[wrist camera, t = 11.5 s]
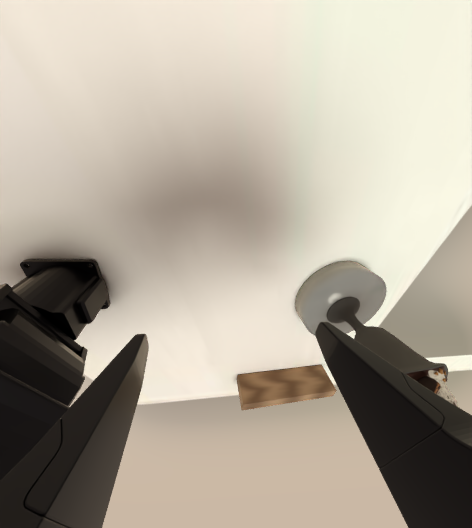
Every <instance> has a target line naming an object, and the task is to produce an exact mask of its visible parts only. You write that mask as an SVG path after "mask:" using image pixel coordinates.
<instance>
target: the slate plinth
mask: <svg viewBox="0 0 472 528" xmlns="http://www.w3.org/2000/svg"><path fill="white" fill-rule="evenodd" d="M385 296H386V285H385V282H384V281H383V279H382V278H381V277H379V276H378V275H376V274H375V273H373V272H372V271H370V270H369V269H367V268H366V267H364V266H363V265H361V264H359V263H357V262H353V261H342V262H336V263H333V264H330V265H328V266H325V267H324V268H322V269H320V270H318V271H317V272H315V273H314V274H313V275H312V276H310V277H309V278H308V279H307V280H306V282H305V283H304V284H303V285H302V287H301V288H300V290H299V292H298V294H297V296H296V301H295V308H296V311H297V313H298V315H299V317H300V318H301V320H302V321H303V323H304V325H305V326H306V328H307V329H308V331H309V332H310V333H312V334H313V335H315V331H316V329H317V327H318V325H319V323H320V322H325V321H326V322H329V321H328V320H327V312H328V310H329V308H330V307H331V306H332V305H333V304H334V303H335V302H337V301H338V300H340V299H343V298H346V297H355V298H357V299H358V300H359V301H360V308H359V310H358V312H357V313H356V314H355V316H356V318H357V319H358V320H359V321H360V322H361V323H362V324H365V323H366V322H367V321H368V320H369V319H371V318H372V317H373V316H374V315H375V314H376V312H377V311H378V310H379V309H380V307H381V305H382V304H383V302H384V299H385ZM329 323H331V322H329ZM331 324H332V325H334V326H335V327H337V328H338V329H339V330H341V331H342V332H344V333H345V334H346V333H349V332H351V331H353V330H354V329H353V328H352V327H351V325H349V324H348V323H347V322H346V321H345V322H342V323H331Z"/></svg>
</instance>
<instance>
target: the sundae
mask: <svg viewBox="0 0 472 528" xmlns="http://www.w3.org/2000/svg"><path fill="white" fill-rule="evenodd" d="M359 308H360V301H359V300H358V299H357V298H355V297H346V298H343V299H340V300H338V301H337V302H335V303H334V304H333V305H332V306H331V307H330V308H329V310H328V312H327V320H328V321H329V322H331V323H342V322H345V321H346V322H347V323H348V324H349V325H351V327H352V328H353V329H354V330H355V331H356V335H355V338H354V340H356V341H357V342H359V343H360V344H362V345H363V346H365V347H366V348H368V349H369V350H371V351H372V352H374V353H375V354H377V355H378V356H380V357H381V358H383V359H384V360H386V361H387V362H388V363H390V364H391V365H393V366H394V367H396V368H397V369H399V370H400V371H401V372H403V373H405V374H406V375H408V376H409V377H411V378H412V379H414V380H415V381H417V382H418V383H420V384H421V385H423V386H424V387H426V388H428V389H429V390H431V391H432V392H434V393H436V394H437V395H439V396H441V397H442V398H444V399H445V400H447V401H449V402H450V403H452V404H454V405H455V406H457V407H458V404H457V401H456V399H455V398H454V396H453V394H452V393H451V392H450V390H449V389H448V388H447V386H446V381H447V375H448V368H447V366H446V365H445V364H441V363H433V362H430V361H428V360H427V359H425V358H424V357H422V356H421V355H419V354H417V353H416V352H414V351H413V350H412V349H411V348H409V347H408V346H407V345H405V344H404V343H403V342H401V341H400V340H399V339H397V338H396V337H395V336H394V335H392V334H390V333H389V332H387V331H386V330H385V329H383V328H379V327H372V326H371V327H367V326H364V325H363V324H362V323H361V322H360V321H359V320H358V319H357V318H356V316H355V314H356V313H357V312H358V310H359Z"/></svg>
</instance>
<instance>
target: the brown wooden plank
mask: <svg viewBox="0 0 472 528" xmlns="http://www.w3.org/2000/svg"><path fill="white" fill-rule="evenodd" d="M237 384H238V391H239V397H240V403H241V409H242V410H247V409H254V408H259V407H266V406H273V405H279V404H285V403H292V402H298V401H303V400H310V399H317V398H323V397H330V396H333V395H334V394H335V392H336V389H335V387H334V385H333V384H332V382H331V380H330V378H329V377H328V375H327V373H326V372H325V370H324V368H323V366H322V365H315V366H307V367H298V368H290V369H282V370H273V371H265V372H257V373H248V374H240V375H238V377H237Z"/></svg>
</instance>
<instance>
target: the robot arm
mask: <svg viewBox="0 0 472 528" xmlns="http://www.w3.org/2000/svg"><path fill="white" fill-rule="evenodd" d="M27 264H28V265H27ZM90 264H92V265H93V266H91V265H90ZM20 266H21V268H22V269H23V271H24V273H25V275H26V278H24V279H23V280H22V281H20V282H19V283H17V284H16V285H14V286H13V287H10V286H9V285H8V284H3V285H0V528H102V525H103V522H104V518H105V515H106V511H107V508H108V504H109V501H110V497H111V494H112V490H113V487H114V483H115V479H116V476H117V472H118V469H119V466H120V462H121V458H122V455H123V451H124V448H125V444H126V441H127V437H128V434H129V430H130V427H131V423H132V420H133V416H134V413H135V409H136V406H137V402H138V399H139V395H140V392H141V388H142V384H143V378H144V372H145V367H146V361H147V355H148V348H149V346H148V341H147V336H146V334H137V335H135V336H134V337H133V338H132V339H131V340H130V342H129V343H128V344H127V345H126V346H125V347H124V348H123V349H122V350H121V351H120V353H119V354H118V355H117V356H116V357H115V358H114V359H113V360H112V361H111V362H110V364H109V365H108V366H107V367H106V368H105V369H104V370H103V371H102V372H101V374H100V375H99V376H98V377H97V378H96V379H95V380H94V381H93V382H92V383H91V385H90V386H89V387H88V388H87V389H86V390H85V391H84V392H83V393H82V395H81V396H80V397H79V398H78V399H77V400H76V401H75V402H74V404H73V405H72V406H71V407H69V406H70V404H71V403H72V401H73V400H74V398H75V396H76V395H77V393H78V391H79V390H80V388H81V386H82V384H83V382H84V380H85V377H84V376H83V372H84V365H85V360H86V355H87V349H86V348H84V347H81V346H80V345H79V344H77V343H76V342H75V341H74V340H76V339H77V337H78V336H79V334H80V333H81V331H82V330H83V328H84V327H85V325H86V324H90V323H91V322H92V321H93V320H94V319H95V317H96V315H97V314H98V312H99V311H100V309H107V308H108V307H109V305H110V302H109V298H108V297H109V294H108V291H107V288H106V285H105V282H104V279H103V278H102V277H101V274H100V271H99V267H98V264H97V262H96V261H94V260H24V261H23V262H21V263H20ZM104 304H105V305H104ZM315 335H316V338H317V341H318V343H319V346H320V349H321V351H322V354H323V356H324V359H325V361H326V363H327V366H328V368H329V370H330V372H331V374H332V376H333V378H334V380H335V382H336V384H337V386H338V387H339V390H340V392H341V394H342V395H343V397H344V400H345V402H346V403H347V406H348V408H349V410H350V412H351V414H352V415H353V418H354V420H355V422H356V423H357V426H358V427H359V430H360V432H361V434H362V436H363V438H364V439H365V442H366V444H367V446H368V448H369V450H370V452H371V454H372V455H373V457H374V459H375V461H376V463H377V465H378V467H379V468H380V469H379V470H380V472H381V474H382V476H383V478H384V480H385V482H386V484H387V486H388V488H389V490H390V492H391V494H392V496H393V498H394V500H395V501H396V503H397V506H398V508H399V510H400V511H401V514H402V516H403V517H404V520H405V522H406V524H407V526H408V528H472V415H470V414H468V413H467V412H465V411H463V410H462V409H460V408H458V407H457V406H455V405H454V404H452V403H450V402H449V401H447V400H445V399H444V398H442V397H441V396H439V395H437V394H436V393H434V392H432V391H431V390H429V389H428V388H426V387H424V386H423V385H421V384H420V383H418V382H417V381H415V380H414V379H412V378H411V377H409V376H408V375H406V374H405V373H403V372H401V371H400V370H399V369H397V368H396V367H394V366H393V365H391V364H390V363H388V362H387V361H386V360H384V359H383V358H381V357H380V356H378V355H377V354H375V353H374V352H372V351H371V350H369V349H368V348H366V347H365V346H363V345H362V344H360V343H359V342H357V341H356V340H354V339H353V338H351V337H350V336H348V335H347V334H345V333H344V332H342V331H341V330H339V329H338V328H337V327H335V326H334V325H332V324H331V323H329V322H326V321H325V322H320V323H319V325H318V327H317V329H316V331H315Z"/></svg>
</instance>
